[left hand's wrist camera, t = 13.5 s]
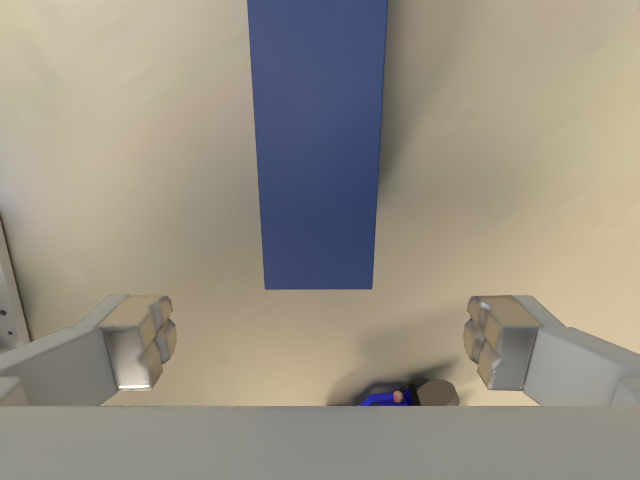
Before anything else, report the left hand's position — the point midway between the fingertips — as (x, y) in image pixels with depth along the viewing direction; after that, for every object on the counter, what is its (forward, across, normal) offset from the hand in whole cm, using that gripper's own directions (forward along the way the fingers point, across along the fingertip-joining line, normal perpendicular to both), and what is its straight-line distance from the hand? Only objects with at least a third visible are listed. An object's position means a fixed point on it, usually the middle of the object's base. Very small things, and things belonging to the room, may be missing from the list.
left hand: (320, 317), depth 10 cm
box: (+22, 0, +7) cm, 22 cm away
